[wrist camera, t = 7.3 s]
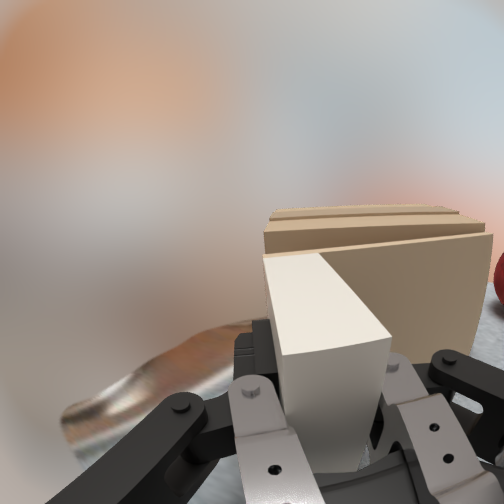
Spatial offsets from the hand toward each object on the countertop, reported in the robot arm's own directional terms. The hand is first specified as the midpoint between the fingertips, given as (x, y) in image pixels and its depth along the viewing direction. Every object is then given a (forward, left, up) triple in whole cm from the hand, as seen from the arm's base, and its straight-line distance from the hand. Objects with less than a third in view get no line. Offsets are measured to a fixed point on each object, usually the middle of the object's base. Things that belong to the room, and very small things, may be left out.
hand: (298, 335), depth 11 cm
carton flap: (-6, +1, -6) cm, 9 cm away
